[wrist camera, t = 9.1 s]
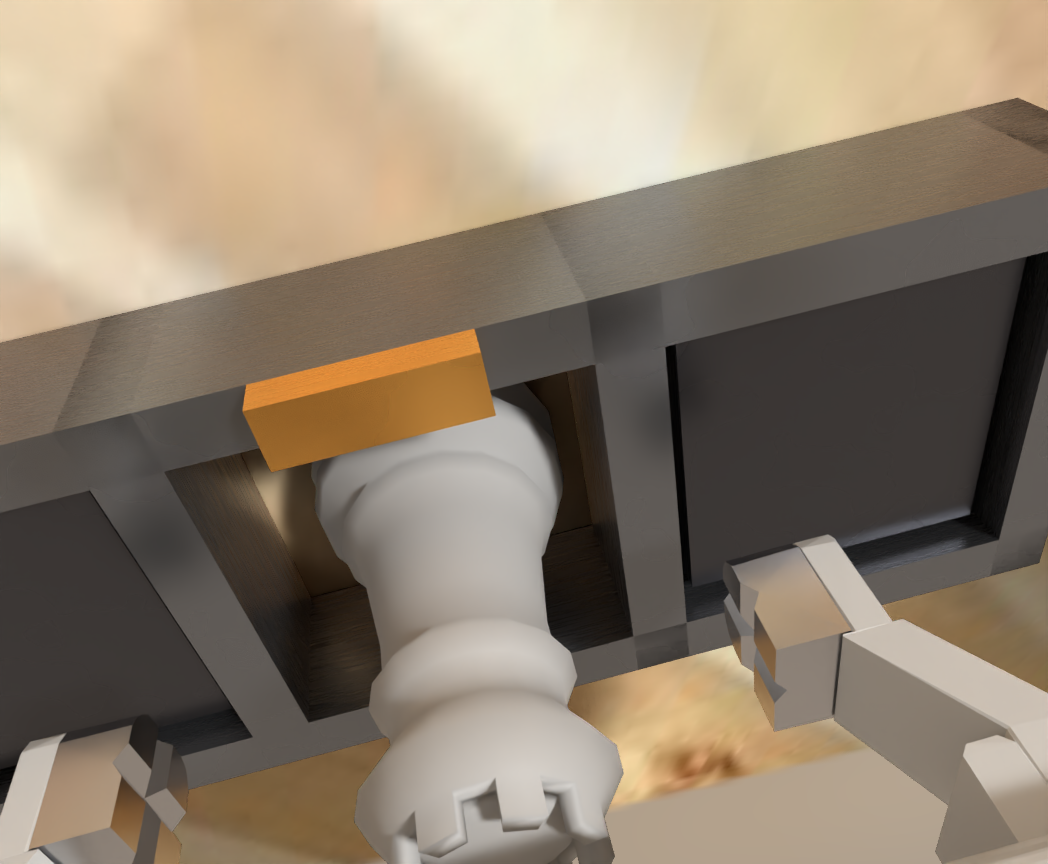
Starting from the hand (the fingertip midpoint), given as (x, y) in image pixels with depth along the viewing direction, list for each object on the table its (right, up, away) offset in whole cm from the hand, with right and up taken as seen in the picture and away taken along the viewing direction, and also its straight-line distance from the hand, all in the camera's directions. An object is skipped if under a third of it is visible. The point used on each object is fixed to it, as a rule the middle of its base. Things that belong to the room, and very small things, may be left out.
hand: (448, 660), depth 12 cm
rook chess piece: (-1, +3, +4) cm, 5 cm away
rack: (-1, +3, +4) cm, 5 cm away
